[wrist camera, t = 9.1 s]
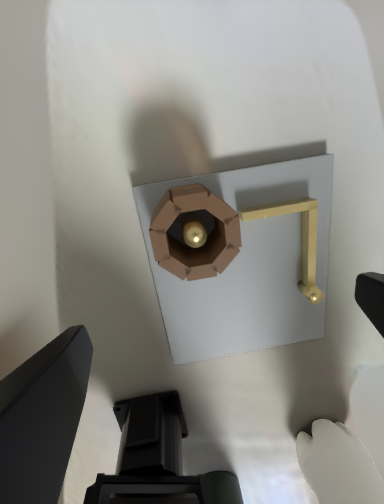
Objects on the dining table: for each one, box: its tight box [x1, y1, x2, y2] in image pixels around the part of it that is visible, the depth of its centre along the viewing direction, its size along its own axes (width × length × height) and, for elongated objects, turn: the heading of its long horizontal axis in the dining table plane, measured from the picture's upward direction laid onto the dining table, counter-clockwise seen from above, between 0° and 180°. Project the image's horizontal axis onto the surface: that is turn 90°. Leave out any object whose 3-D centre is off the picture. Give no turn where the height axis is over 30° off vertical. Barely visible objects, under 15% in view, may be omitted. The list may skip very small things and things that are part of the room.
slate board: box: [133, 154, 334, 366], centre depth 21 cm, size 16×14×1 cm
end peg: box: [181, 212, 207, 248], centre depth 17 cm, size 1×1×4 cm
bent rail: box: [238, 197, 324, 304], centre depth 19 cm, size 8×6×2 cm
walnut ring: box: [149, 183, 242, 281], centre depth 17 cm, size 5×5×4 cm
